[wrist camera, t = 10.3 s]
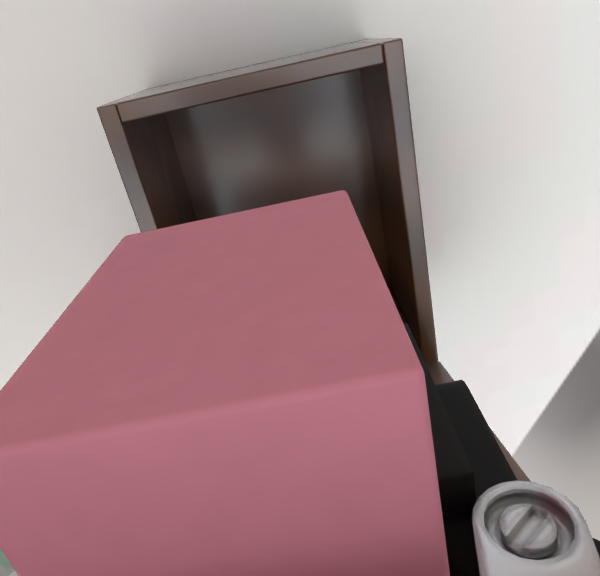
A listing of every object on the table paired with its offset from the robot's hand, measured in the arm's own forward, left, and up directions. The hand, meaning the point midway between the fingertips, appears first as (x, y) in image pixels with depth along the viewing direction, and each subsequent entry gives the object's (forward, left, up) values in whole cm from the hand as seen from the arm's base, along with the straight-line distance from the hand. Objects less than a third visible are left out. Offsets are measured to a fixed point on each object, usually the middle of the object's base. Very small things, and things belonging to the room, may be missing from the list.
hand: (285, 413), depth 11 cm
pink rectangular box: (0, 0, 0) cm, 0 cm away
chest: (+2, -1, -23) cm, 23 cm away
